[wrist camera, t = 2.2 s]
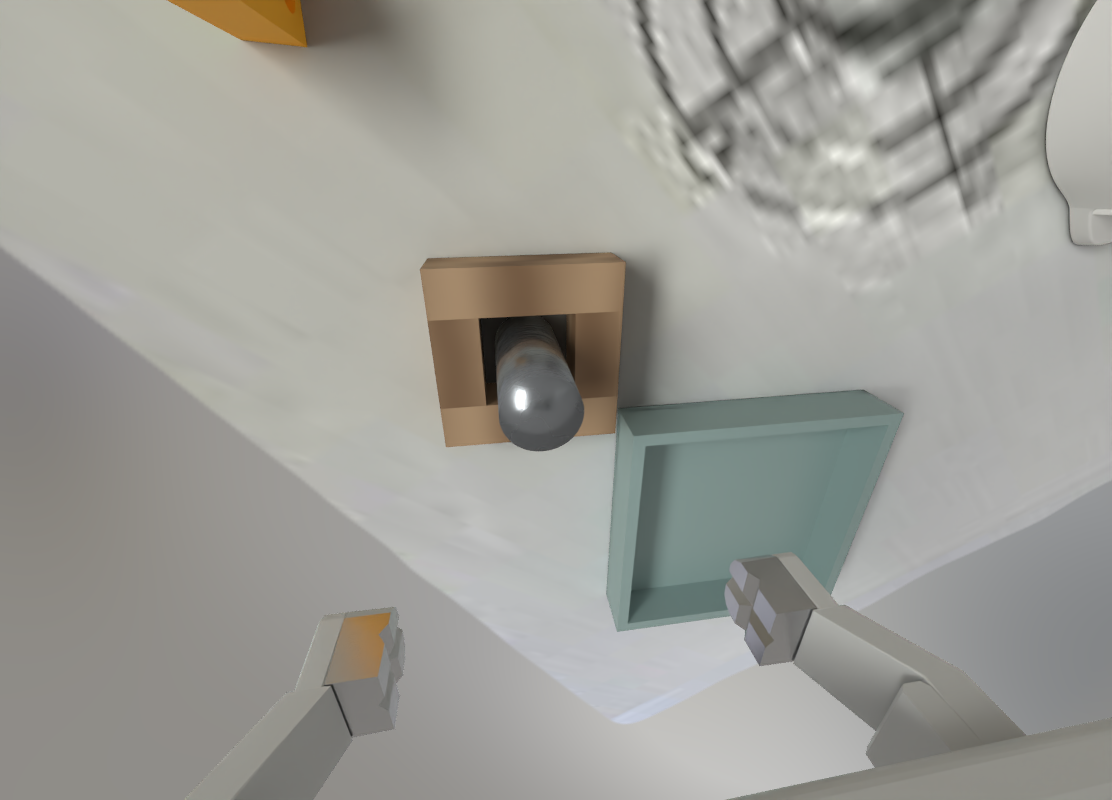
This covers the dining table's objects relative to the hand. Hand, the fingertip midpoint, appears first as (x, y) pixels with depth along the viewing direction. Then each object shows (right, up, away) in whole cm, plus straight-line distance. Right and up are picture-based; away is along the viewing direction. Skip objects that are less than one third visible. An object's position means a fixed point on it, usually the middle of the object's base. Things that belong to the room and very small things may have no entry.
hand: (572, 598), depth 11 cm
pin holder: (-2, +8, +16) cm, 18 cm away
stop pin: (-2, +8, +16) cm, 18 cm away
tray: (+13, -3, +24) cm, 27 cm away
